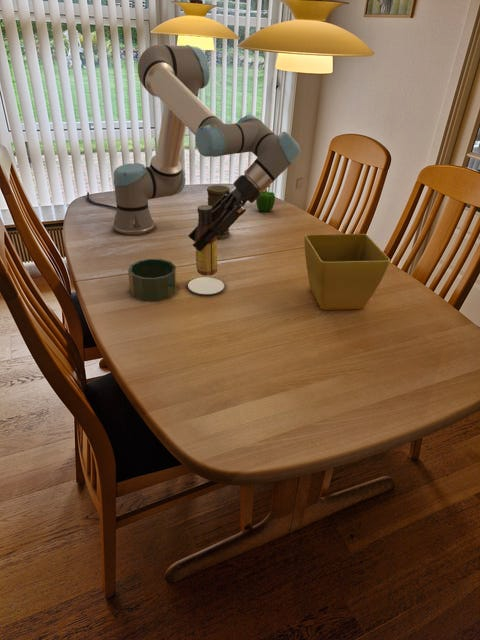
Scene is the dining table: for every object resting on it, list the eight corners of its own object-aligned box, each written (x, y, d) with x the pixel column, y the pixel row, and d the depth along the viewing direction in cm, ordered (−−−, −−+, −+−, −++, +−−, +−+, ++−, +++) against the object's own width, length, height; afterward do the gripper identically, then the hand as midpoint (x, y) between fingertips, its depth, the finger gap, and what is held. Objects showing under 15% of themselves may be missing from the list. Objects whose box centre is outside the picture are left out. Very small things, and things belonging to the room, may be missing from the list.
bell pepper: (273, 214, 192) (275, 191, 187) (254, 212, 193) (255, 189, 187) (274, 208, 199) (276, 186, 194) (256, 206, 200) (258, 184, 195)
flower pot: (312, 317, 121) (321, 261, 112) (297, 284, 137) (303, 233, 128) (378, 315, 124) (392, 260, 115) (355, 283, 140) (366, 233, 131)
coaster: (180, 289, 131) (180, 287, 131) (200, 275, 139) (200, 273, 139) (211, 299, 127) (211, 297, 127) (230, 284, 135) (230, 283, 135)
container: (229, 239, 165) (230, 192, 156) (205, 238, 165) (205, 190, 155) (229, 231, 173) (231, 185, 163) (207, 230, 173) (207, 183, 163)
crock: (121, 292, 128) (118, 271, 124) (150, 275, 138) (148, 255, 134) (157, 305, 123) (156, 283, 119) (185, 286, 133) (184, 265, 129)
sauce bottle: (211, 266, 134) (212, 201, 124) (221, 274, 130) (222, 208, 119) (192, 269, 131) (190, 204, 121) (200, 278, 127) (200, 211, 116)
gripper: (272, 203, 114) (210, 265, 119) (250, 183, 130) (196, 238, 134) (254, 183, 110) (190, 248, 115) (233, 165, 126) (178, 223, 130)
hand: (194, 243), depth 125 cm, fingers closed on sauce bottle, 6 cm apart
